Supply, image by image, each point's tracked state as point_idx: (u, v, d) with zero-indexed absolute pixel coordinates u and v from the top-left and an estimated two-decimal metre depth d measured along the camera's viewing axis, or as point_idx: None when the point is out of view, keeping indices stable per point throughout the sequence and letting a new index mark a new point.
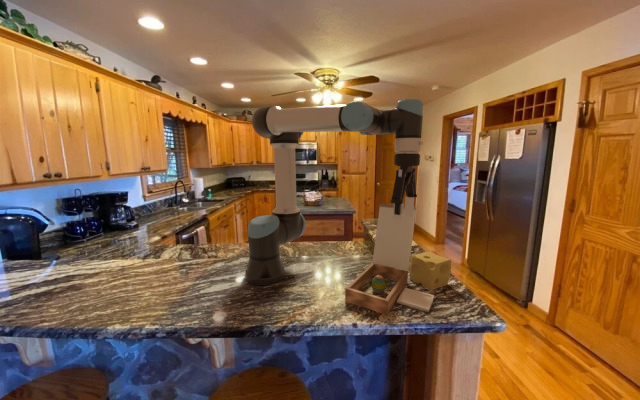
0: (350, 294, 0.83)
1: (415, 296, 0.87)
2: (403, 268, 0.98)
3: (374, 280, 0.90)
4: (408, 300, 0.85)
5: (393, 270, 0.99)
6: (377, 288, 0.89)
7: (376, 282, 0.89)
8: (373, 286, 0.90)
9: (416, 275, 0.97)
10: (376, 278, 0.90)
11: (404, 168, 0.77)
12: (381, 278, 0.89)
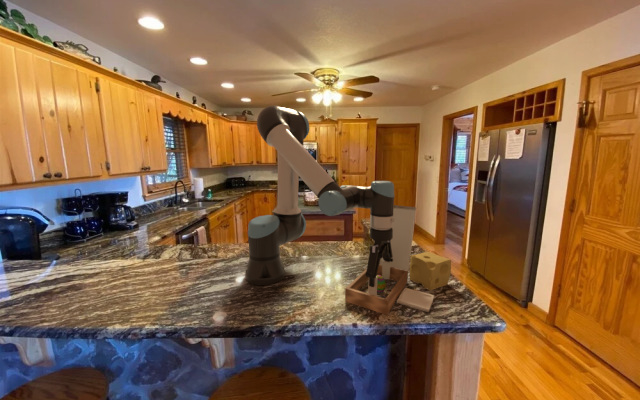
0: (350, 294, 0.83)
1: (415, 296, 0.87)
2: (403, 268, 0.98)
3: None
4: (408, 300, 0.85)
5: (393, 270, 0.99)
6: (377, 288, 0.89)
7: None
8: None
9: (416, 275, 0.97)
10: None
11: (378, 243, 0.85)
12: (381, 278, 0.89)
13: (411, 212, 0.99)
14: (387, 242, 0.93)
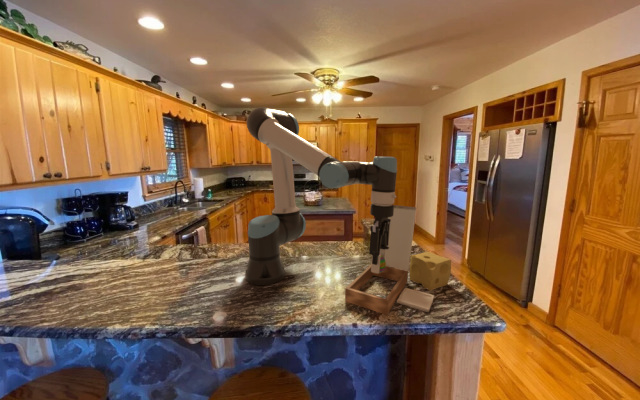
0: (350, 294, 0.83)
1: (415, 296, 0.87)
2: (403, 268, 0.98)
3: None
4: (408, 300, 0.85)
5: (393, 270, 0.99)
6: None
7: None
8: None
9: (416, 275, 0.97)
10: None
11: (378, 219, 0.83)
12: (381, 257, 0.88)
13: (411, 212, 0.99)
14: None
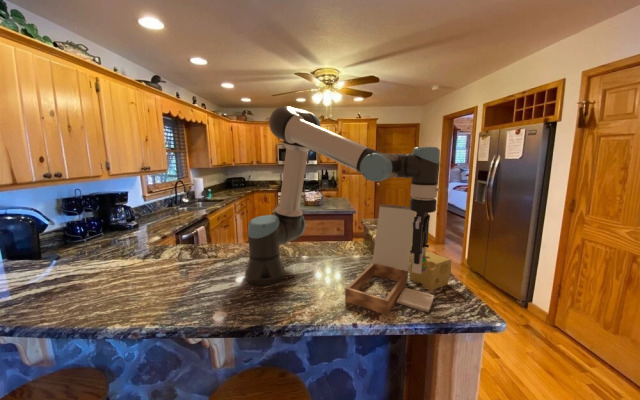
0: (350, 294, 0.83)
1: (415, 296, 0.87)
2: (403, 268, 0.98)
3: None
4: (408, 300, 0.85)
5: (393, 270, 0.99)
6: None
7: None
8: None
9: (416, 275, 0.97)
10: None
11: (421, 215, 0.77)
12: None
13: (411, 212, 0.99)
14: None
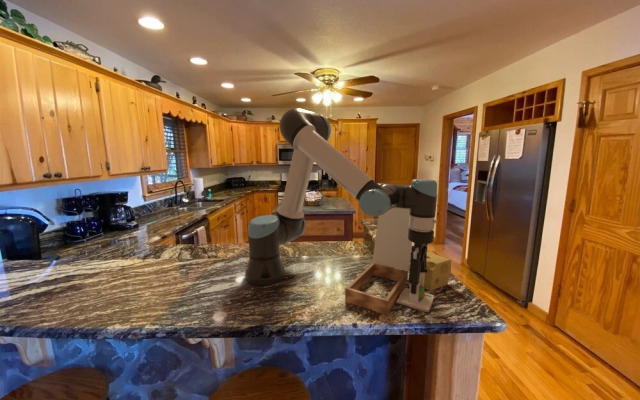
0: (350, 294, 0.83)
1: None
2: (403, 268, 0.98)
3: None
4: (408, 300, 0.85)
5: (393, 270, 0.99)
6: None
7: None
8: None
9: None
10: None
11: (418, 246, 0.79)
12: (420, 285, 0.84)
13: None
14: None
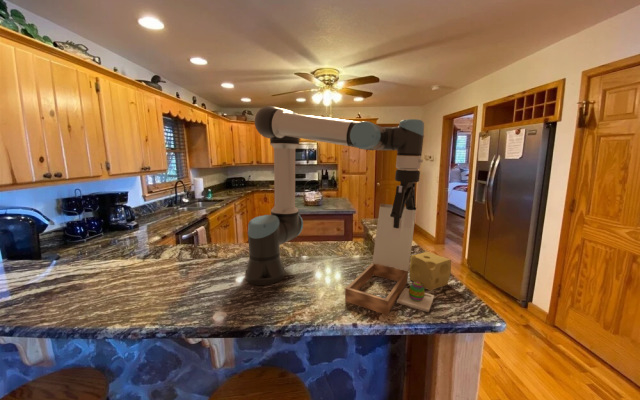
0: (350, 294, 0.83)
1: None
2: (403, 268, 0.98)
3: (412, 287, 0.84)
4: (408, 300, 0.85)
5: (393, 270, 0.99)
6: (416, 296, 0.83)
7: (415, 289, 0.83)
8: (411, 293, 0.84)
9: (416, 275, 0.97)
10: (414, 285, 0.84)
11: (404, 184, 0.82)
12: (420, 285, 0.84)
13: None
14: None
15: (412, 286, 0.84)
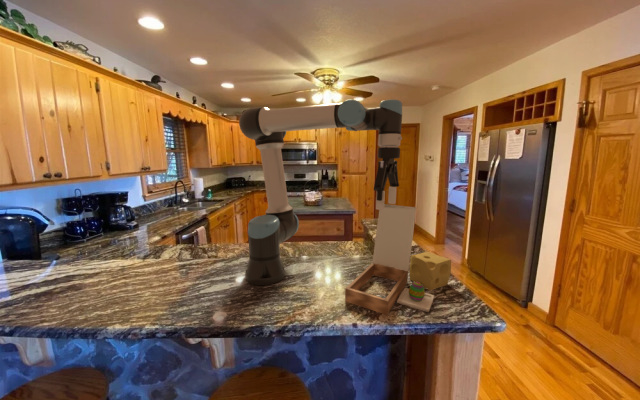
0: (350, 294, 0.83)
1: None
2: (403, 268, 0.98)
3: (412, 287, 0.84)
4: (408, 300, 0.85)
5: (393, 270, 0.99)
6: (416, 296, 0.83)
7: (415, 289, 0.83)
8: (411, 293, 0.84)
9: (416, 275, 0.97)
10: (414, 285, 0.84)
11: (386, 160, 0.89)
12: (420, 285, 0.84)
13: (411, 212, 0.99)
14: None
15: (412, 286, 0.84)
